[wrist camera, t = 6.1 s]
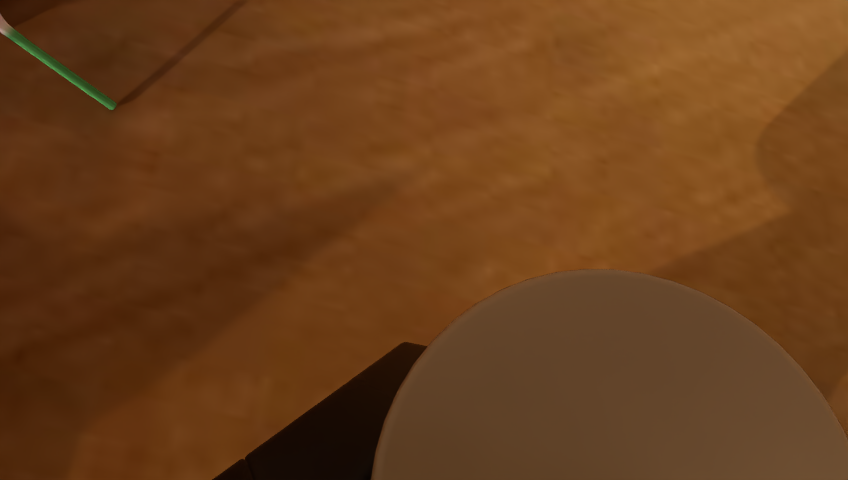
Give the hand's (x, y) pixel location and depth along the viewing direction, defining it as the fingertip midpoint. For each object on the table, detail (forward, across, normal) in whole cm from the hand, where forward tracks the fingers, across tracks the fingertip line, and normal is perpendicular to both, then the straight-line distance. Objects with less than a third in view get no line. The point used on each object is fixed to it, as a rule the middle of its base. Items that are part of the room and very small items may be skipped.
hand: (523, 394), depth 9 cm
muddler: (+4, 0, +6) cm, 7 cm away
